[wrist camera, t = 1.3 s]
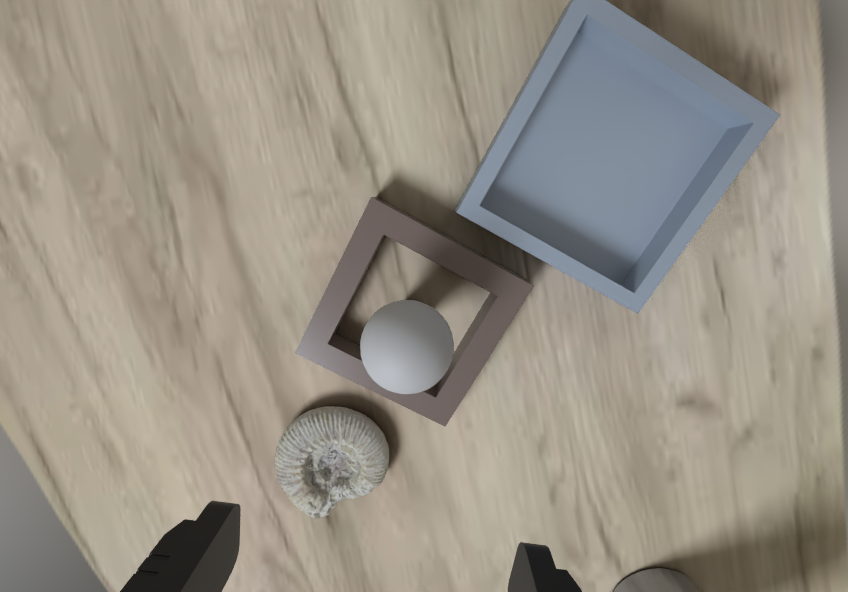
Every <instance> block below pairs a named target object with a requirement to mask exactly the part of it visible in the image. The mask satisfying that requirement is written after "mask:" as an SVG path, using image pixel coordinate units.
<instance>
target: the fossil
mask: <svg viewBox="0 0 848 592" xmlns="http://www.w3.org/2000/svg"><path fill="white" fill-rule="evenodd" d="M388 464H389V447H388V443H387V442H386V438H385V436H384V434H383V432H382V431H381V430H380V427H378V426H377V424H376V423H374V422H373V420H371V419H370V418H368V417H367V416H366V415H363V414H362V413H361V412H358V411H353V410H352V409H348V408H345V407H339V406H337V407H334V406H331V407H329V406H326V407H320V408H317V409H313V410H309V411H308V412H306V413H304V414H302V415H301V416H299V417H298V418H296V419H295V420H294V421H293V422H292V423H291V424H290V425H289V426H288V427H287V429H286V430H285V431H284V433H283V435H282V437H281V439H280V441H279V443H278V446H277V449H276V454H275V471H276V476H277V479H278V481H279V484H280V485H281V487H282V489H283V490H284V492H285V493H286V494H287V495H288V497H289V499H290V500H291V502H293V504H294V505H295V506H297V508H298V509H300V510H301V511H303V512H305V513H306V515H309V516H311V517H312V518H315V519H316V518H320V517H324V516H326V515H329V514H330V510H331V509H332V508H335V507H336V505H337V502H338V501H341V500H343V499H346V498H347V499H354V498H356V497H358V496H362V495H367V494H368V493H370V492H371V491H372V489H374V488H375V487H377V486H379V485H380V484H381V482H382V481H383V479H384V477H385V475H386V472H387V469H388Z"/></svg>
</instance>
